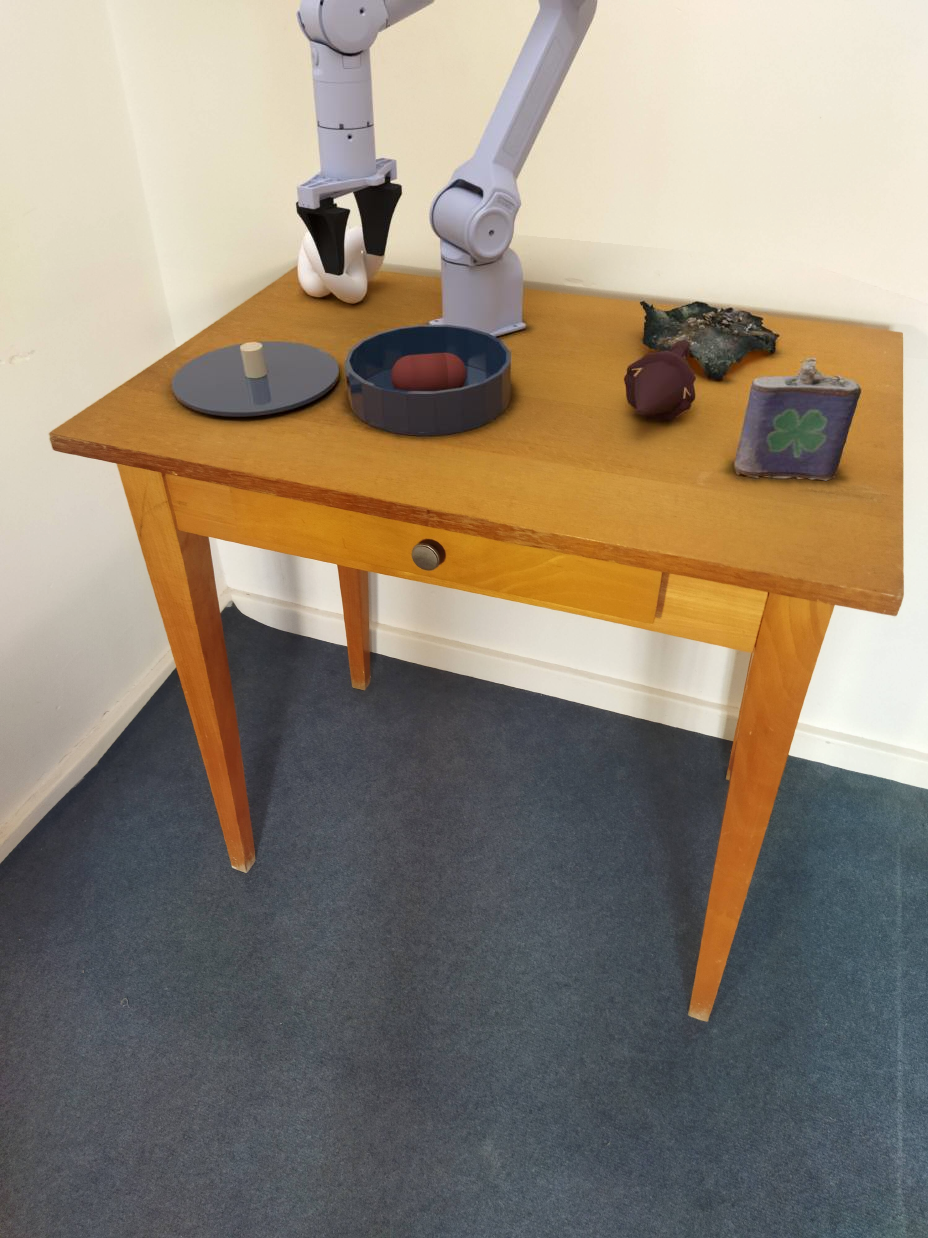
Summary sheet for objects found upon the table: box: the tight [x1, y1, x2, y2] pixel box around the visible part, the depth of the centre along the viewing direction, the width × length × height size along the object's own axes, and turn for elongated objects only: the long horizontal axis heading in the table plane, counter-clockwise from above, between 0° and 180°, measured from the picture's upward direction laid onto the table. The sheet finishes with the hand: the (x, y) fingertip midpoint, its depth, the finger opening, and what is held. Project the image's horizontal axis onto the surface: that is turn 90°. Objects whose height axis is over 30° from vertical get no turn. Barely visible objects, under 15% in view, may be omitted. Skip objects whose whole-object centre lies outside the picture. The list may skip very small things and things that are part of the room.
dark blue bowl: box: [344, 324, 512, 437], centre depth 93 cm, size 17×17×5 cm
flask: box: [733, 357, 862, 481], centre depth 78 cm, size 9×3×11 cm, turn 83°
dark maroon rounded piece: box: [623, 340, 697, 422], centre depth 88 cm, size 7×7×15 cm
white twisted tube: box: [296, 223, 386, 304], centre depth 116 cm, size 11×12×9 cm
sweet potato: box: [391, 353, 467, 391], centre depth 93 cm, size 4×8×4 cm, turn 98°
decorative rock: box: [639, 300, 780, 382], centre depth 102 cm, size 19×6×15 cm
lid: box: [171, 340, 340, 418], centre depth 97 cm, size 18×18×4 cm
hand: (355, 263), depth 97 cm, fingers open, 7 cm apart
